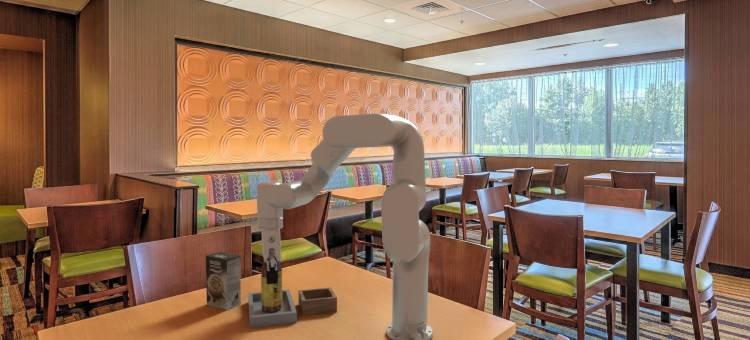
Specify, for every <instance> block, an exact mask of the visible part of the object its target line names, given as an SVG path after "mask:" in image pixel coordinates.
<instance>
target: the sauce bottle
mask: <svg viewBox="0 0 750 340" xmlns="http://www.w3.org/2000/svg"><path fill="white" fill-rule="evenodd" d="M269 254H270V251H269ZM277 270H278V283H277V284H267V275H266V271H267V263H266V262H265V261H263V264H262V266H261V275H260V287H261V288H260V292H261V305H262V310H263V311H264V312H275V311H278V310H280V309H281V304H282V290H283V269H282V266H281V263H280V262H279V261H277Z"/></svg>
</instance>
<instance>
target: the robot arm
mask: <svg viewBox="0 0 750 340" xmlns="http://www.w3.org/2000/svg"><path fill="white" fill-rule="evenodd" d="M322 128H323V129H322V137H323V138H322V139H321V140H320V142H319V143H318V144H317V145H316V146H314V148H313V149H312V150H311V152H310V158H311V161H312V163H311V166H310V167H309V169H308V170H307V171H306V172H305V174H303V175H302V177H300V178H299V180H294V181H290V182H285V183H281V182H279V181H263V182H262V181H261V182H259V183H257V185H256V213H257V215H256V216H257V217H256V223H257V227H256V228H257V229H258V230H261V247H262V256H263V262H266V263H267V271H266V275H267V284H277V283H278V270H277V261H279V263H280V262H282V250H281V249H282V247H281V246H282V245H281V243H282V241H281V229H284V210H291V209H294V208H295V209H296V208H298V207H301V206H304V205H307V204H309V203H310V202H311V201H313V200H314V199H315V198H316V197H317V196H318V195H319V194H320V193H321V192H322V191H323V190H324V188H325V187H327V185H328V184H329V182H330V180H331V178H332V176H333V174H334V172H335V171H336V170H337V169H338V167H340V165H342V163H343V162H344V161H345V160H346V159H347V158H348V157H349V156H350V155H351V154H352V153H353V152H354V150H356V149H362V148H363V149H364V148H384V147H385V148H389V147H390V148H392V150H393V158H392V173H393V174H392V175H393V176H392V177H393V178H392V183H391V184H390V185H388V186H387V187H386V189H385V190H384V191H383V194H382V198H381V207H380V208H381V211H380V213H381V237H382V239H381V240H382V247H383V250H384V253H385V255H386V256H387V257H388V258H389V259H390V260H391V261H393V262H392V288H391V289H392V295H391V296H392V299H391V300H392V302H391V303H392V305H391V306H392V309H391V311H392V312H391V315H392V316H391V317H392V318H391V320H392V321H391V323H390V324H389V325H387V327H386V329H385V330H386V336H387V337H389V339H391V340H431V339H432V337H434V336H433V335H434V334H433V332H434V329H433V328H432V327H431V326H430V325H429V324H428V301H429V300H428V299H429V298H428V297H429V296H428V293H429V292H428V291H429V263H430V262H429V260H430V259H429V258H430V250H431V249H430V248H431V234H430V233H431V232H430V230H429V228H428V226H427V225H426V223H425V222H423V220H421V219H420V212H421V210H422V209H423V208H424V207H425V205H426V203H427V202H426V201H427V187H426V186H427V185H426V165H425V164H426V163H425V147H424V146H425V145H424V139H423V137H422V135H421V132H420V130H419V129H418V128H417V127H416V126H415V125H414V124H413V123H412V122H411V121H409V120H407V119H405V118H403V117H400V116H398V115H396V114H388V113H364V114H362V113H361V114H350V115H349V114H348V115H347V114H346V115H335V116H333V117H330V118H329V119H328V120H327V121H326V122H325V123H324V125H323V127H322ZM269 251H270V254H269Z"/></svg>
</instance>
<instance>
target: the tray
mask: <svg viewBox="0 0 750 340" xmlns="http://www.w3.org/2000/svg"><path fill="white" fill-rule="evenodd" d="M247 296H248V301H247V302H248V318H249V329H251V328H253V329H255V328H260V327H270V326H279V325H280V326H281V325H287V324H288V325H289V324H294V323H295V324H296V323H298V314H297V313H298V312H297V309H296V307H295V303H294V300H293V297H292V294H291V291H290V288H289V289H282V304H281V309H280V310H278V311H275V312H264V311H263V310H262V305H261V291H258V292H248V295H247Z"/></svg>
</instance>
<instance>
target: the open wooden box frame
mask: <svg viewBox="0 0 750 340" xmlns="http://www.w3.org/2000/svg"><path fill="white" fill-rule="evenodd" d="M298 307H299V310H300V312H301V316H302V317H305V316H313V315H314V316H315V315H321V314H330V313H331V314H332V313H337V312H338V297H337V295H336V294H335V292H334V290H333V289H332V287H323V288H321V287H319V288H313V289H310V288H309V289H302V290H300V289H299V290H298Z"/></svg>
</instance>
